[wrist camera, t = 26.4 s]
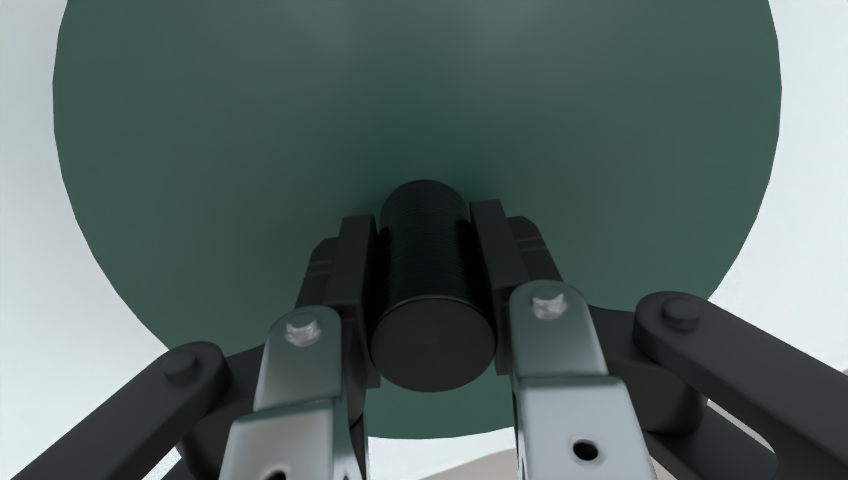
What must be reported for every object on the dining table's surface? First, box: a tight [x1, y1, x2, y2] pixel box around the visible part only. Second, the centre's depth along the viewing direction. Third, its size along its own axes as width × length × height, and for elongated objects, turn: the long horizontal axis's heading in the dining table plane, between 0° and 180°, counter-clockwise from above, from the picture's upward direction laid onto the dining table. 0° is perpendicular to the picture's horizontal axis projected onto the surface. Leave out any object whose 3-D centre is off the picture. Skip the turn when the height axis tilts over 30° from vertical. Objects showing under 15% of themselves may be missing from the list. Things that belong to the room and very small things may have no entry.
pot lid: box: [53, 0, 782, 439], centre depth 11 cm, size 19×19×6 cm
